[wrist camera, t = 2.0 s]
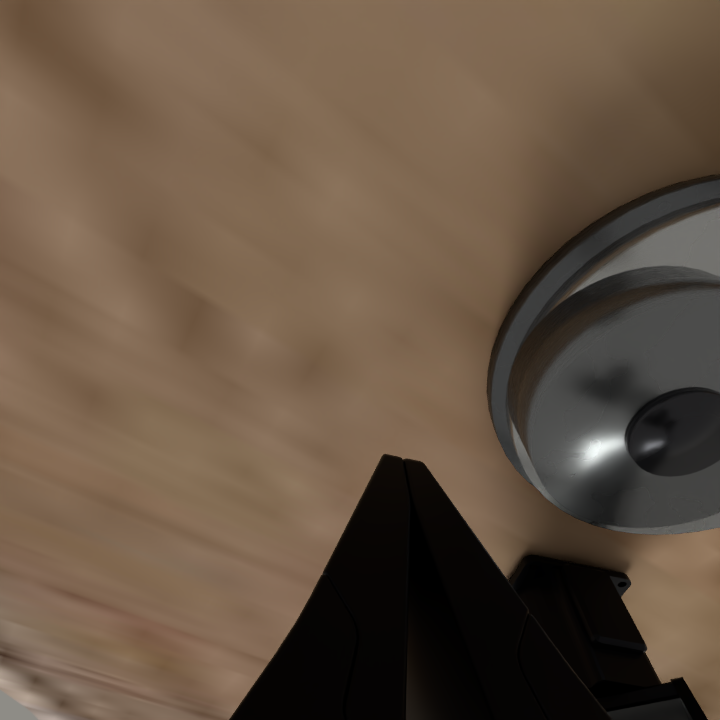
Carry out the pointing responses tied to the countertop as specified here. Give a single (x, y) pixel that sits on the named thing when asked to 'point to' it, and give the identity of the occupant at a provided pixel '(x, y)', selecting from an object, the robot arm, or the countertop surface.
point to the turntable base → (564, 268)
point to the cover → (626, 398)
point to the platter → (635, 250)
